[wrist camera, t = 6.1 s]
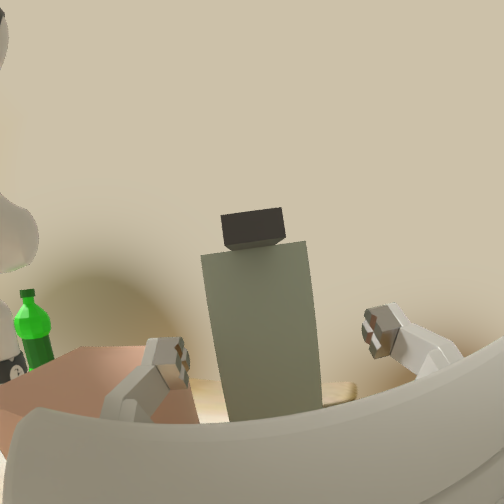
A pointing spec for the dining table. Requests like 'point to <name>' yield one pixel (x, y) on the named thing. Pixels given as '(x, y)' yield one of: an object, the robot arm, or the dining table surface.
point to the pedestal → (264, 330)
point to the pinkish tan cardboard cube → (83, 389)
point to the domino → (253, 229)
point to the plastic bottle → (34, 331)
